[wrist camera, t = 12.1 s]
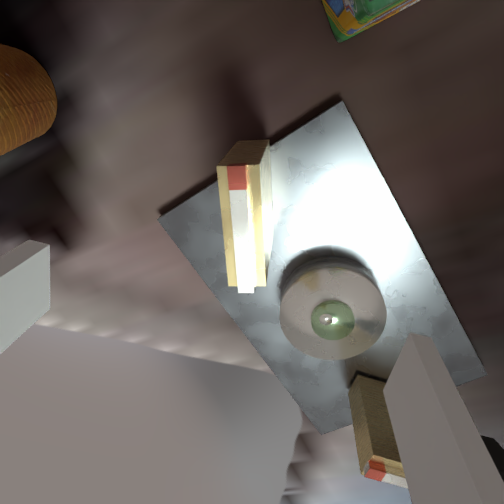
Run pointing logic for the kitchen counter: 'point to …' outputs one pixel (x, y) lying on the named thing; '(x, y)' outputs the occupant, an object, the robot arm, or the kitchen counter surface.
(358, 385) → the yellow white layered bar
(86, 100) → the kitchen counter surface
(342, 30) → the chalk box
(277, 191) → the base plate
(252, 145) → the tan striped slab
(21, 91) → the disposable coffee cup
